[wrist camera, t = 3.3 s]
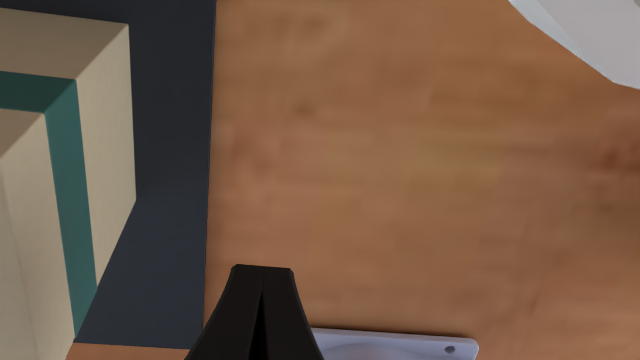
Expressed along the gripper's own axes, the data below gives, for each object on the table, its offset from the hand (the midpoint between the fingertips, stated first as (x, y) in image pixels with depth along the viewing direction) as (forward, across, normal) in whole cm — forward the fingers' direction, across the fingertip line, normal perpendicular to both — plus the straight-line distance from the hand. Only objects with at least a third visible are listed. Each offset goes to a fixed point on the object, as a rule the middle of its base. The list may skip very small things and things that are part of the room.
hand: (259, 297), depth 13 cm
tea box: (+8, +7, 0) cm, 11 cm away
